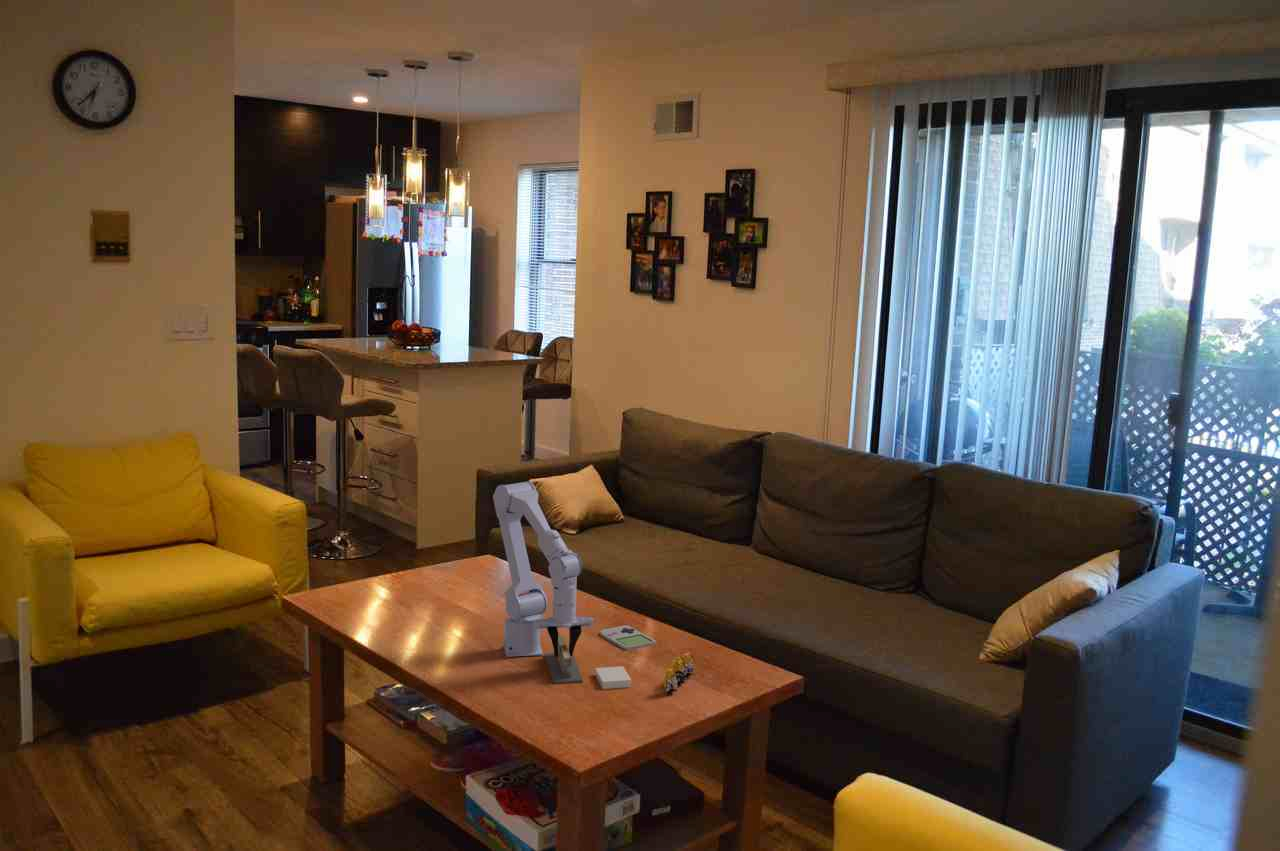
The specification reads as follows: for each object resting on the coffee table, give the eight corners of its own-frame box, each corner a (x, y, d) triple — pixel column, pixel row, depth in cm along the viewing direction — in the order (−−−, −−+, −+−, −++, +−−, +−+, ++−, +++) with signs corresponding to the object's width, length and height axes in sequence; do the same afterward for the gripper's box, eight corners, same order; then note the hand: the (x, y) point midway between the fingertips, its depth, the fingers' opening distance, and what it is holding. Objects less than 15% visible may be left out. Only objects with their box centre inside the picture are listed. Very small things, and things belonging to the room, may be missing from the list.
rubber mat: (553, 683, 250) (553, 681, 250) (544, 655, 269) (544, 652, 269) (582, 682, 252) (582, 679, 252) (571, 653, 270) (571, 651, 270)
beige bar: (564, 678, 252) (564, 658, 252) (555, 654, 268) (556, 635, 267) (570, 677, 253) (571, 658, 252) (562, 654, 268) (562, 635, 268)
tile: (595, 676, 257) (602, 690, 248) (595, 668, 257) (602, 681, 248) (623, 674, 259) (631, 688, 250) (623, 666, 258) (631, 679, 250)
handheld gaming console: (627, 623, 292) (657, 640, 279) (627, 629, 292) (657, 646, 279) (596, 629, 286) (626, 646, 274) (596, 635, 286) (626, 652, 274)
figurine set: (659, 695, 246) (660, 669, 245) (683, 672, 261) (684, 647, 260) (672, 698, 245) (673, 671, 244) (696, 674, 260) (697, 649, 259)
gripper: (537, 608, 252) (536, 662, 254) (596, 606, 255) (594, 659, 257) (533, 599, 259) (533, 652, 261) (591, 597, 262) (590, 649, 264)
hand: (563, 655), depth 260 cm, fingers open, 3 cm apart
